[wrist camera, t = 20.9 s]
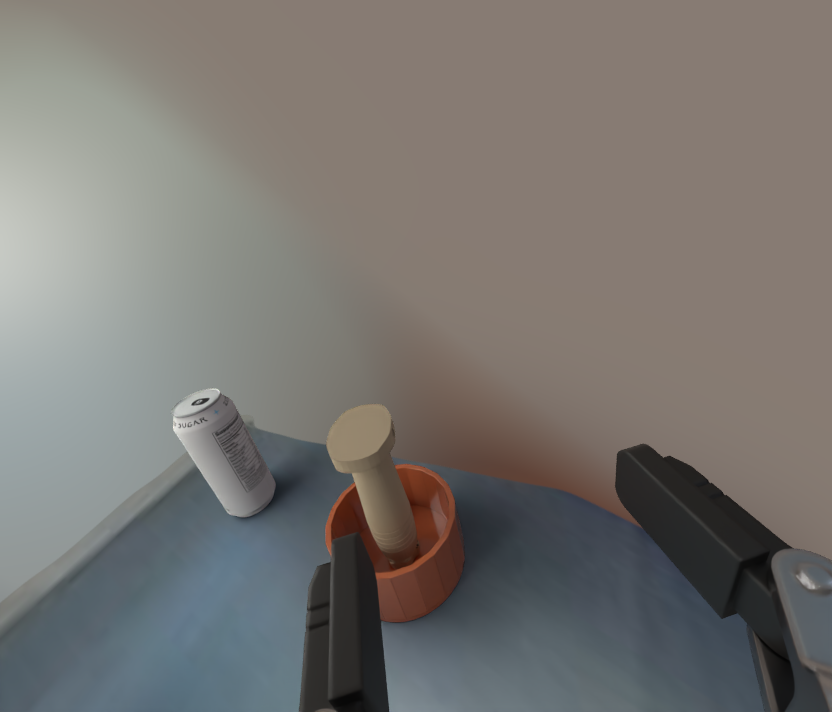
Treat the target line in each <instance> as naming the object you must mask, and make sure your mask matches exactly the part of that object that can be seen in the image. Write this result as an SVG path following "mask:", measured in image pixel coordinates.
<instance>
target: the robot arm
mask: <svg viewBox="0 0 832 712" xmlns="http://www.w3.org/2000/svg"><path fill="white" fill-rule="evenodd" d="M615 487H616V492H617V494H618V497H619V499H620V501H621V503H622V504H623V505H624V507H625V508H626V509H627V510H628V511H629V513H630V514H631V515H632V516H633V517H634V518H635V519H636V520H637V522H638V523H639V524H640V525H641V526H642V528H643V529H644V530H645V531H646V532H647V533H648V535H649V536H650V537H651V538H652V539H653V540H654V541H655V543H656V544H657V545H658V546H659V547H660V548H661V550H662V551H663V552H664V553H665V554H666V555H667V556H668V558H669V559H670V560H671V561H672V562H673V563H674V564H675V566H676V567H677V568H678V569H679V570H680V571H681V573H682V574H683V575H684V576H685V577H686V578H687V579H688V581H689V582H690V583H691V584H692V585H693V586H694V588H695V589H696V590H697V591H698V592H699V593H700V594H701V596H702V597H703V598H704V599H705V600H706V601H707V602H708V604H709V605H710V606H711V607H712V608H713V609H714V611H715V612H716V613H717V614H718V615H719V616H720V617H721V619H723V618H725V617H728V616H731V615H734V614H737V613H738V614H739V615H740V616H741V617H742V618H743V619H744V620H745V621H746V623H747V635H748V639H749V644H750V648H751V653H752V657H753V662H754V666H755V671H756V675H757V680H758V684H759V689H760V693H761V698H762V702H763V707H764V711H765V712H832V561H831V560H830V559H828V558H826V557H823V556H821V555H819V554H816V553H813V552H810V551H806V550H800V549H794V548H792V547H790V546H789V545H787V544H786V543H785V542H783V541H782V540H781V539H780V538H778V537H777V536H776V535H775V534H773V533H772V532H771V531H770V530H769V529H767V528H766V527H765V526H764V525H762V524H761V523H760V522H759V521H758V520H756V519H755V518H754V517H753V516H751V515H750V514H749V513H748V512H747V511H745V510H744V509H743V508H742V507H740V506H739V505H738V504H737V503H736V502H734V501H733V500H732V499H731V498H730V497H728V496H727V495H724V494H723V492H722V491H721V490H720V489H719V488H717V487H716V486H715V485H714V484H712V483H709V481H708V480H707V479H706V478H705V477H704V476H703V475H701V474H700V473H699V472H698V471H696V470H695V469H694V468H693V467H691V466H690V465H688V464H686V463H684V462H682V461H679V460H677V459H675V458H673V457H671V456H667V457H664V458H663V457H662V456H660V454H658V453H657V452H656V451H655V450H654V449H652V448H651V447H650V446H648V445H646V444H640V445H637V446H634V447H631V448H627V449H624V450H621V451H619V452H618V454H617V465H616V482H615ZM307 611H308V613H307V616H306V632H305V642H304V655H303V669H302V682H301V695H300V706H299V712H389V704H388V693H387V683H386V672H385V661H384V650H383V640H382V629H381V618H380V608H379V597H378V587H377V579H376V574H375V570H374V566H373V563H372V561H371V559H370V556H369V554H368V552H367V549H366V547H365V545H364V543H363V540H362V538H361V536H360V534H359V532H356V533H352V534H349V535H346V536H343V537H340V538H336V539H333V540H332V544H331V562H329V563H326V564H323V565H320V566H317V568H316V571H315V573H314V576H313V578H312V580H311V583H310V585H309V589H308V602H307Z"/></svg>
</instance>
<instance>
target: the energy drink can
mask: <svg viewBox="0 0 832 712" xmlns="http://www.w3.org/2000/svg"><path fill="white" fill-rule="evenodd" d="M171 414H172V415H173V416H174V421H173V430H174V431H175V433H176V435H177V436H178V438H179V439H180V441H181V442H182V444H183V445H184V447H185V448H186V450H187V451H188V453H189V455H190V456H191V458H192V459H193V461H194V462H195V464H196V465H197V467H198V468H199V470H200V471H201V473H202V474H203V476H204V478H205V479H206V481H207V482H208V484H209V485H210V487H211V488H212V490H213V491H214V493H215V494H216V496H217V498H218V499H219V501H220V502H221V504H222V505H223V507H224V508H225V510H226V511H227V513H228V514H230V515H233V516H238V517H249V516H252V515H254V514H256V513H258V512H260V511H261V510H263V509H264V508H265V507H266V506H267V505H268V504H269V503H270V501H271V500H272V498H273V495H274V490H275V486H276V485H275V480H274V478H273V477H272V475H271V473H270V471H269V469H268V467H267V465H266V463H265V461H264V460H263V458H262V456H261V454H260V452H259V450H258V448H257V446H256V445H255V443H254V441H253V439H252V437H251V435H250V433H249V431H248V430H247V428H246V426H245V424H244V422H243V420H242V418H241V416H240V414H239V413H238V411H237V409H236V407H235V405H234V403H233V401H232V400H231V399H229V398H228V397H226V396H224V395H222V394H221V392H220V391H219V390H218V389H215V388H214V389H212V388H211V389H205V390H201V391H198V392H196V393H193V394H191V395H189V396H187V397H186V398H184V399H182V400H181V401H180V402H178V403H177V404H176V405H175V406H174V407H173V408H172V410H171Z"/></svg>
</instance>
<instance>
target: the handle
mask: <svg viewBox="0 0 832 712" xmlns="http://www.w3.org/2000/svg"><path fill="white" fill-rule="evenodd" d="M394 444H395V429H394V425H393V421H392V419H391V415H390V413H389V412H388V411H387V409H386V408H385V407H384V406H383V405H380V404H367V405H362V406H357V407H354V408H352V409H349V410H347V411H346V412H344V413H343V414H342V415H341V416H340V417H339V418H338V419H337V421H336V422H335V423H334V424H333V426H332V427H331V429H330V432H329V435H328V438H327V442H326V446H327V450H328V452H329V455H330V457H331V459H332V462H333V464H334V466H335V468H336V470H337V471H339V472H342V473H352V475H353V478H354V481H355V484H356V488H357V491H358V494H359V497H360V500H361V504H362V507H363V510H364V514H365V517H366V520H367V523H368V526H369V528H370V530H371V533H372V535H373V537H374V539H375V541H376V543H377V545H378V547H379V548H380V550H381V551H382V553H383V554H384V555H385V557H386V558H387V559H389V563H390V564H391V566H392V567H393V568H394V569H399V568H402V567H406V566H409V565H411V564H413V561H414V559H415V557H416V556H417V555H419V553H420V546H419V541H418V540H417V531H416V526H415V521H414V517H413V513H412V510H411V506H410V503H409V500H408V498H407V495H406V493H405V490H404V488H403V485H402V483H401V480H400V478H399V475H398V473H397V470H396V468H395V465H394V463H393V460H392V458H391V455H390V452H391V450H392V448H393V446H394Z"/></svg>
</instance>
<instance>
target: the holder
mask: <svg viewBox="0 0 832 712" xmlns="http://www.w3.org/2000/svg"><path fill="white" fill-rule="evenodd" d="M395 468H396V470H397V473H398V475H399V478H400V480H401V483H402V485H403V488H404V490H405V493H406V495H407V498H408V500H409V503H410V506H411V510H412V513H413V517H414V521H415V526H416V531H417V540H418V541H419V546H420V553H419V555H417V556H416V557H415V559H414V561H413V564H411V565H409V566H406V567H402V568H399V569H394V568H393V567H392V566H391V564H390V563H389V559H387V558H386V557H385V555H384V554H383V553H382V551H381V550H380V548H379V547H378V545H377V543H376V541H375V539H374V537H373V535H372V533H371V530H370V528H369V526H368V523H367V520H366V517H365V514H364V510H363V507H362V504H361V500H360V497H359V494H358V491H357V488H356V484H355V482H354V483H353V484H352V485H351V486H350V487H349V488H347V489H346V490H345V491H344V492H343V493H342V494H341V496H340V497H339V499H338V500H337V501H336V503H335V504H334V506H333V507H332V509H331V512H330V515H329V518H328V521H327V524H326V546H327V549H328V551H329V553H330V556H331V544H332V540H333V539H336V538H340V537H343V536H346V535H349V534H352V533H356V532H359V534H360V536H361V538H362V540H363V543H364V545H365V547H366V549H367V552H368V554H369V556H370V559H371V561H372V563H373V566H374V570H375V574H376V579H377V587H378V597H379V608H380V618H381V620H382V621H386V622H406V621H411V620H415V619H417V618H420V617H423V616H425V615H426V614H428V613H430V612H432V611H433V610H435V609H436V608H437V607H439V606H440V605H441V604H442V603H443V602H444V601H445V600H446V599H447V598H448V597H449V596H450V594H451V593H452V592H453V590H454V589H455V587H456V585H457V583H458V581H459V579H460V577H461V574H462V571H463V567H464V562H465V547H464V539H463V534H462V530H461V525H460V521H459V517H458V512H457V508H456V503H455V499H454V497H453V494H452V492H451V490H450V487H449V485H448V484H447V483H446V482H445V481H444V480H443V479H442V478H441V477H440V476H439V475H438V474H437V473H435V472H433V471H431V470H429V469H427V468H425V467H422V466H416V465H410V464H401V465H395Z"/></svg>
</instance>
